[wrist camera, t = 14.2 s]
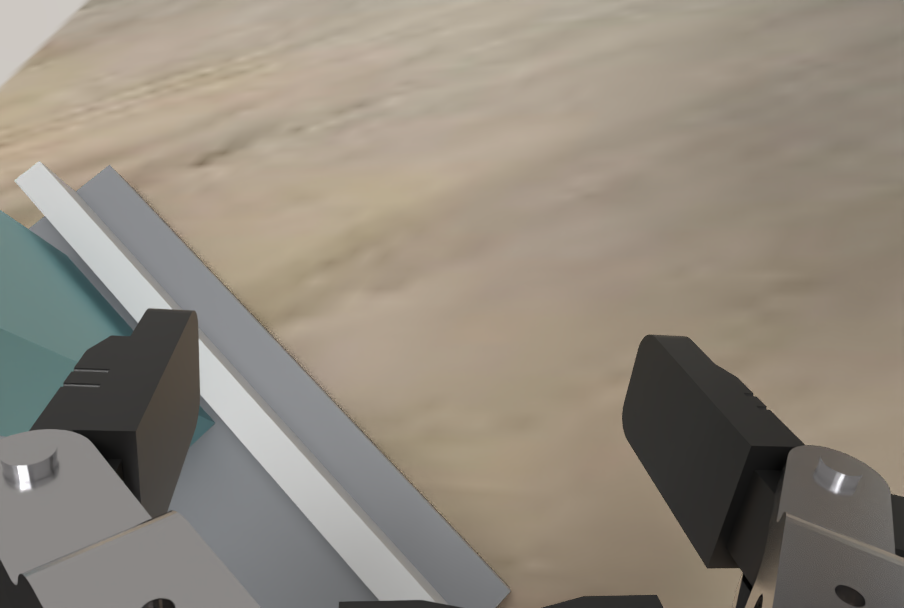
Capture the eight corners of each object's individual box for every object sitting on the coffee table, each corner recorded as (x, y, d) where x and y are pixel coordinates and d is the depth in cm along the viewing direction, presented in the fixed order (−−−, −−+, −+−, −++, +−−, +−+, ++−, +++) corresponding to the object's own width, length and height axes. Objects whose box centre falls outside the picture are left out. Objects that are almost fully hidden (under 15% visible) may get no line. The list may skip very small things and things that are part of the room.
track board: (132, 187, 32) (76, 132, 28) (509, 587, 25) (512, 596, 21) (-53, 336, 30) (-143, 301, 26) (304, 812, 23) (262, 871, 19)
